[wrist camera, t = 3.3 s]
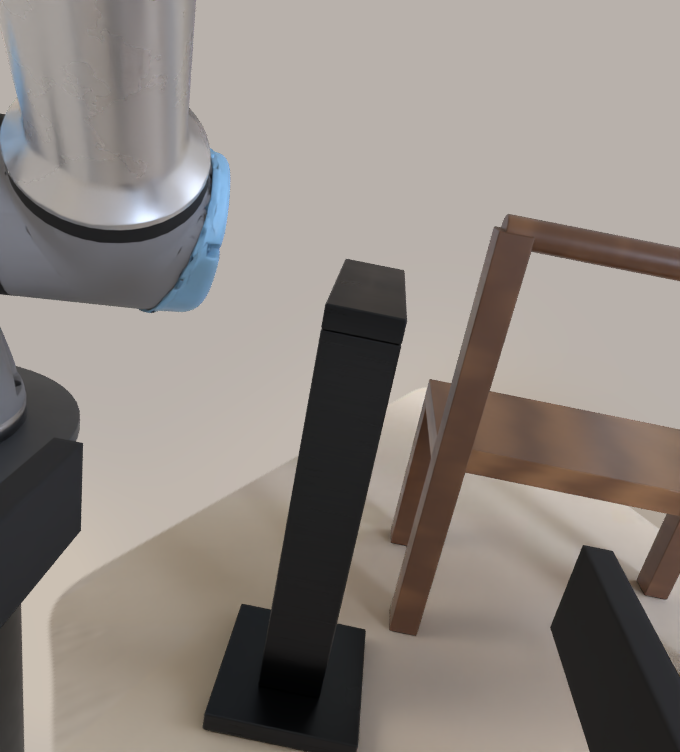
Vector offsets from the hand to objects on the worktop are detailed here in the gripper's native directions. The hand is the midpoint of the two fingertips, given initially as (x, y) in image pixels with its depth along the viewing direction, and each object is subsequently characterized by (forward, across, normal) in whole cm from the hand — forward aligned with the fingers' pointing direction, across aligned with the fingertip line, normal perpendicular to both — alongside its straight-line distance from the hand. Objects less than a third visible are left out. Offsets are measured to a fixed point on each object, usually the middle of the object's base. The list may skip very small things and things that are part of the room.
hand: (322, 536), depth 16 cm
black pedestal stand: (+11, 0, -16) cm, 20 cm away
